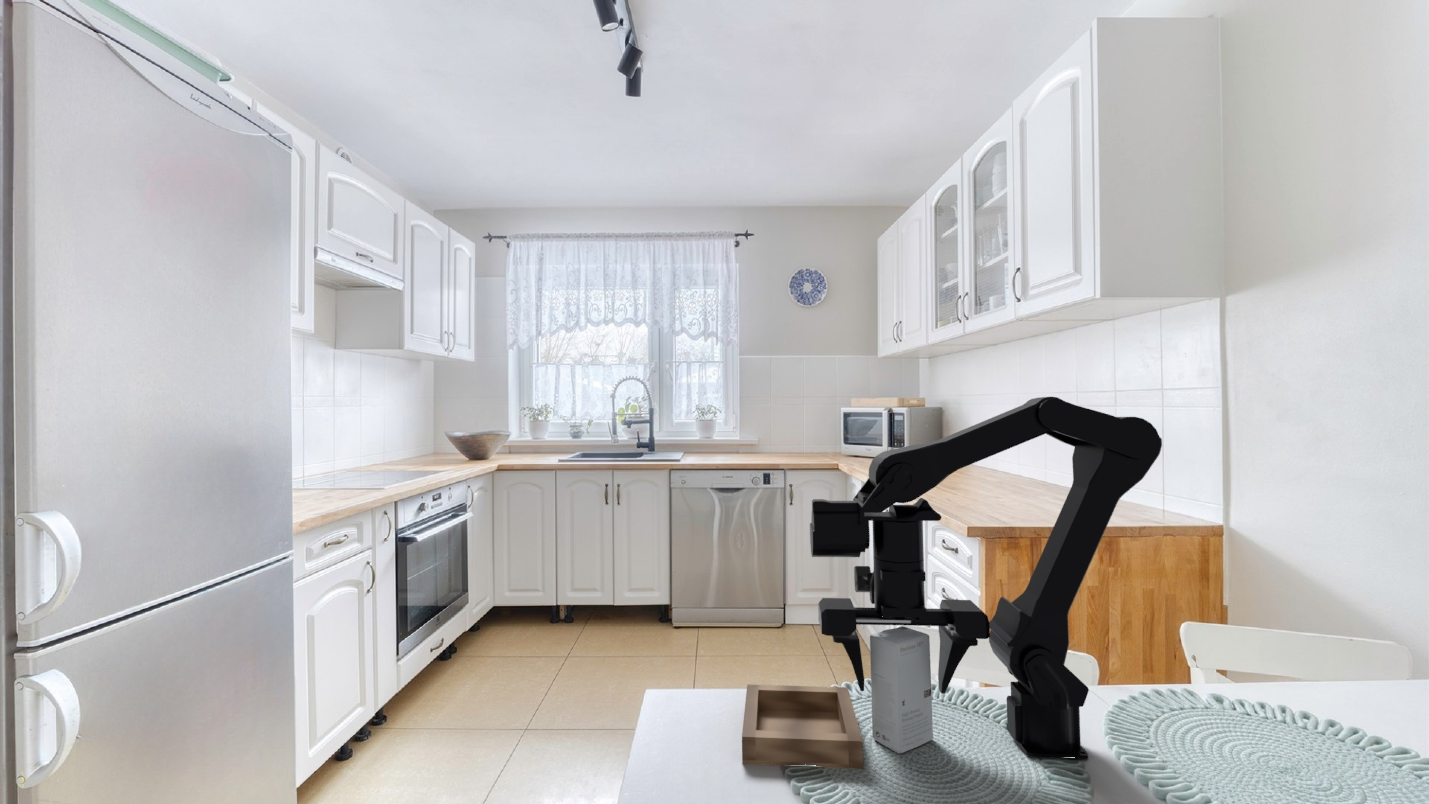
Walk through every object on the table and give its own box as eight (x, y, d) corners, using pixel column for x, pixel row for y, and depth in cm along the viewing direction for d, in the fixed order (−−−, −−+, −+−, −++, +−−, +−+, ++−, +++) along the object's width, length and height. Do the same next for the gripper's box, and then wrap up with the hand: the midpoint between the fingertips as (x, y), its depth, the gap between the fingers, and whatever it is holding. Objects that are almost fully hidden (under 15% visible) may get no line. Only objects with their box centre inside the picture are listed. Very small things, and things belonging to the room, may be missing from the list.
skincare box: (900, 756, 66) (898, 646, 67) (869, 738, 70) (867, 634, 70) (935, 739, 70) (932, 634, 70) (904, 723, 73) (901, 624, 74)
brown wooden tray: (848, 713, 77) (847, 687, 77) (863, 772, 64) (862, 741, 64) (747, 709, 78) (747, 684, 78) (742, 767, 65) (741, 736, 65)
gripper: (958, 543, 78) (962, 664, 77) (814, 543, 80) (816, 661, 79) (989, 564, 67) (993, 706, 66) (820, 563, 68) (823, 700, 68)
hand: (901, 690), depth 70 cm, fingers open, 9 cm apart
